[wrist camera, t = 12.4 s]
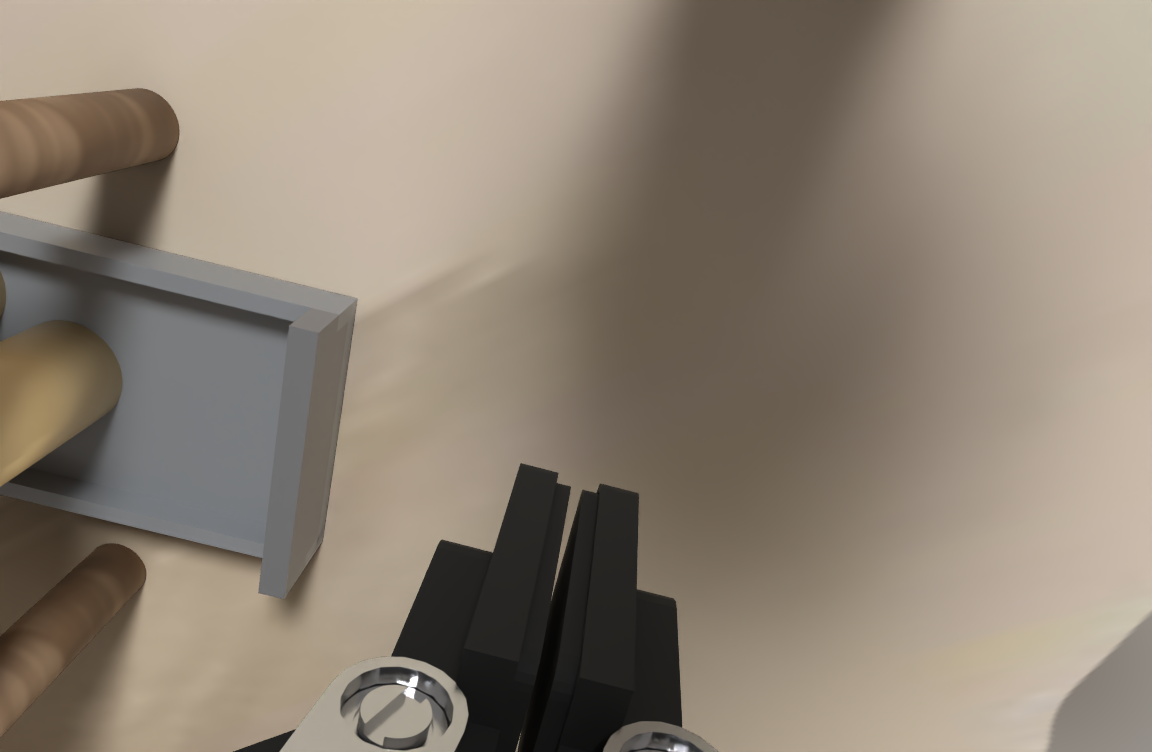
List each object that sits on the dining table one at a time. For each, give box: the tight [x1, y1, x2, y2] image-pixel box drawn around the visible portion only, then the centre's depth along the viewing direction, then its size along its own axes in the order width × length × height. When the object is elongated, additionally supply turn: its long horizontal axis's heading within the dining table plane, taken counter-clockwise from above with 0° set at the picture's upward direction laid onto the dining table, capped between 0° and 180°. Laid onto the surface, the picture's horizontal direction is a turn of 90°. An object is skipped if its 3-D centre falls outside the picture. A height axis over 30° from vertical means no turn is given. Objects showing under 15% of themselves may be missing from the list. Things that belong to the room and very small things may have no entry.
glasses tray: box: [0, 211, 357, 599], centre depth 37 cm, size 22×13×10 cm, turn 77°
